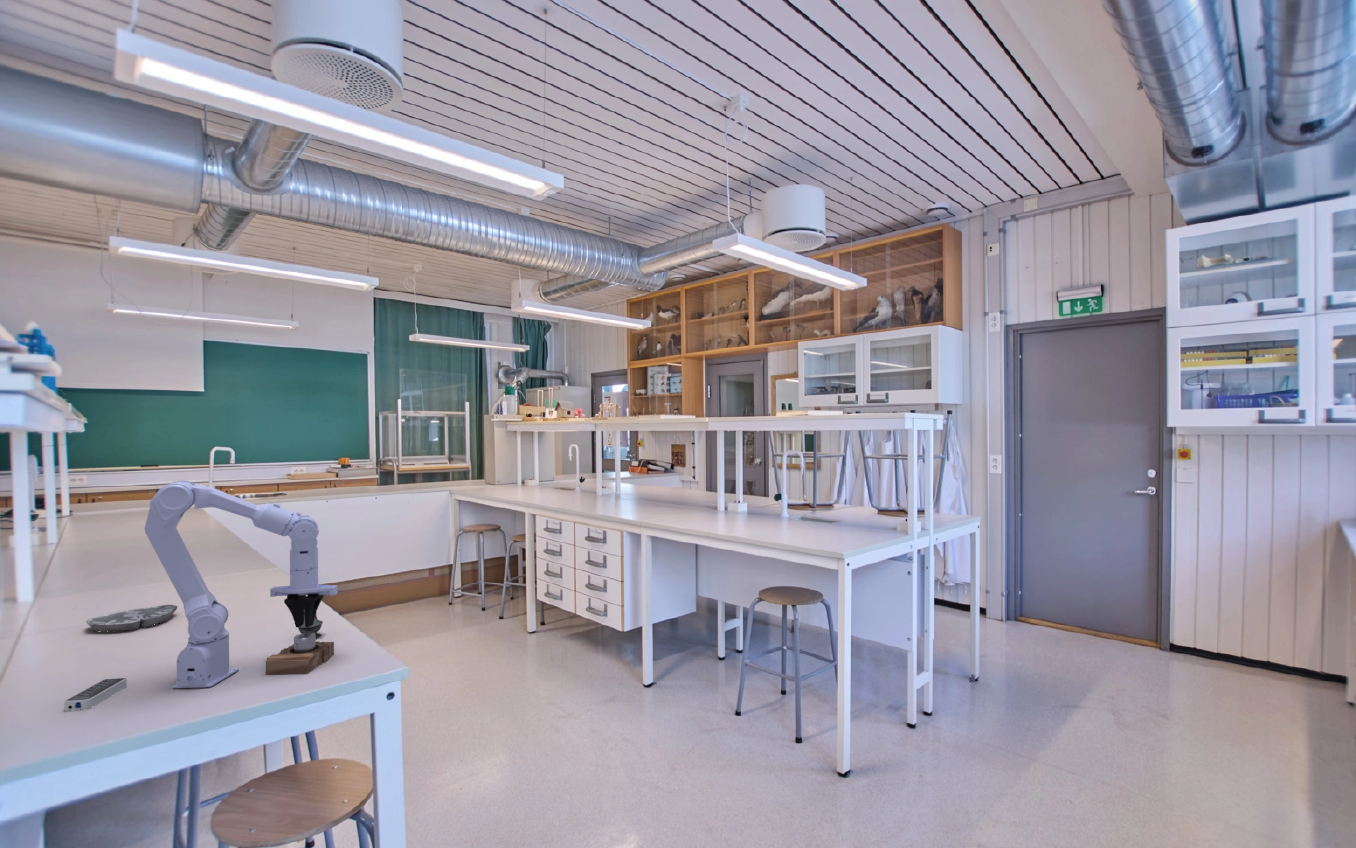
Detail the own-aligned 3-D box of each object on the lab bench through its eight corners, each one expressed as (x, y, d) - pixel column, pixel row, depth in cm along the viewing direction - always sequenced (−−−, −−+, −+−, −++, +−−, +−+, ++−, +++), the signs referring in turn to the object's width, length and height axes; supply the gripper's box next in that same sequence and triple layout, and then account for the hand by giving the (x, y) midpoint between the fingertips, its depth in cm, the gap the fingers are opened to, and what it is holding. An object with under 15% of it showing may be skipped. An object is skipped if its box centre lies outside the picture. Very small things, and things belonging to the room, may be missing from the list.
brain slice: (95, 641, 163) (95, 630, 163) (81, 629, 173) (81, 618, 173) (187, 622, 179) (187, 611, 179) (169, 612, 189) (169, 602, 189)
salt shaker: (293, 642, 160) (293, 595, 160) (301, 635, 166) (300, 590, 166) (319, 640, 162) (319, 593, 162) (325, 632, 167) (325, 588, 167)
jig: (309, 673, 139) (309, 657, 139) (263, 675, 139) (263, 658, 139) (337, 653, 152) (337, 638, 152) (295, 654, 151) (294, 639, 151)
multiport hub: (127, 688, 133) (127, 677, 133) (89, 711, 123) (88, 699, 123) (104, 690, 133) (104, 679, 133) (63, 713, 122) (63, 701, 122)
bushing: (311, 664, 145) (310, 638, 145) (290, 665, 144) (290, 639, 144) (319, 657, 149) (318, 632, 149) (299, 658, 149) (298, 633, 149)
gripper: (343, 564, 151) (344, 620, 151) (282, 565, 150) (282, 621, 150) (329, 570, 144) (329, 629, 144) (264, 572, 143) (264, 631, 143)
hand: (304, 626), depth 147 cm, fingers closed
